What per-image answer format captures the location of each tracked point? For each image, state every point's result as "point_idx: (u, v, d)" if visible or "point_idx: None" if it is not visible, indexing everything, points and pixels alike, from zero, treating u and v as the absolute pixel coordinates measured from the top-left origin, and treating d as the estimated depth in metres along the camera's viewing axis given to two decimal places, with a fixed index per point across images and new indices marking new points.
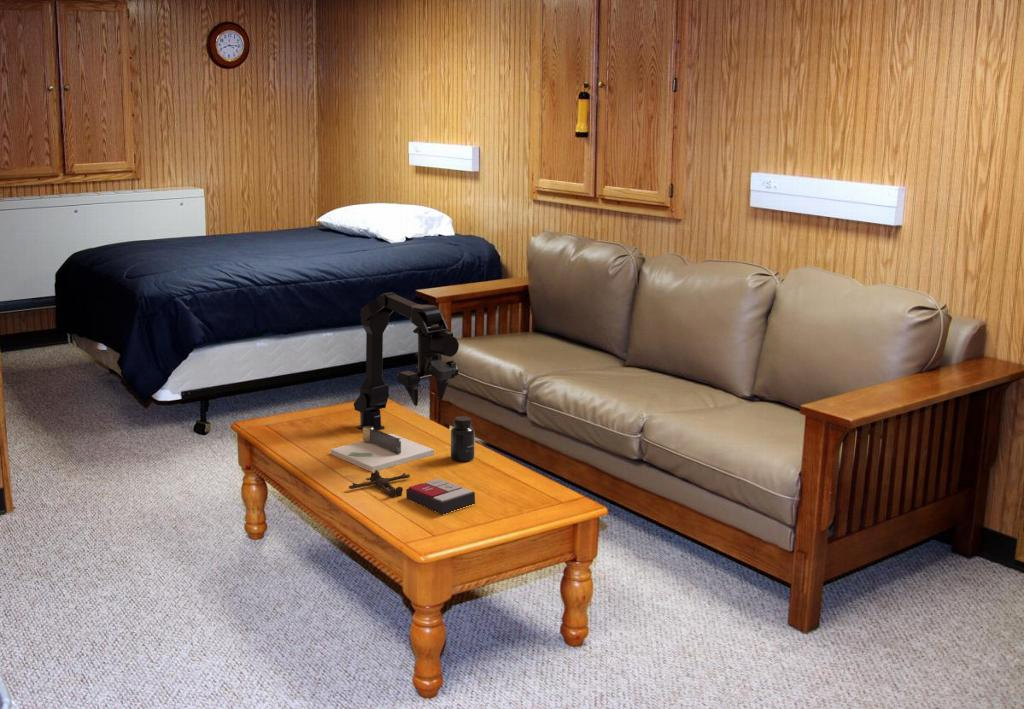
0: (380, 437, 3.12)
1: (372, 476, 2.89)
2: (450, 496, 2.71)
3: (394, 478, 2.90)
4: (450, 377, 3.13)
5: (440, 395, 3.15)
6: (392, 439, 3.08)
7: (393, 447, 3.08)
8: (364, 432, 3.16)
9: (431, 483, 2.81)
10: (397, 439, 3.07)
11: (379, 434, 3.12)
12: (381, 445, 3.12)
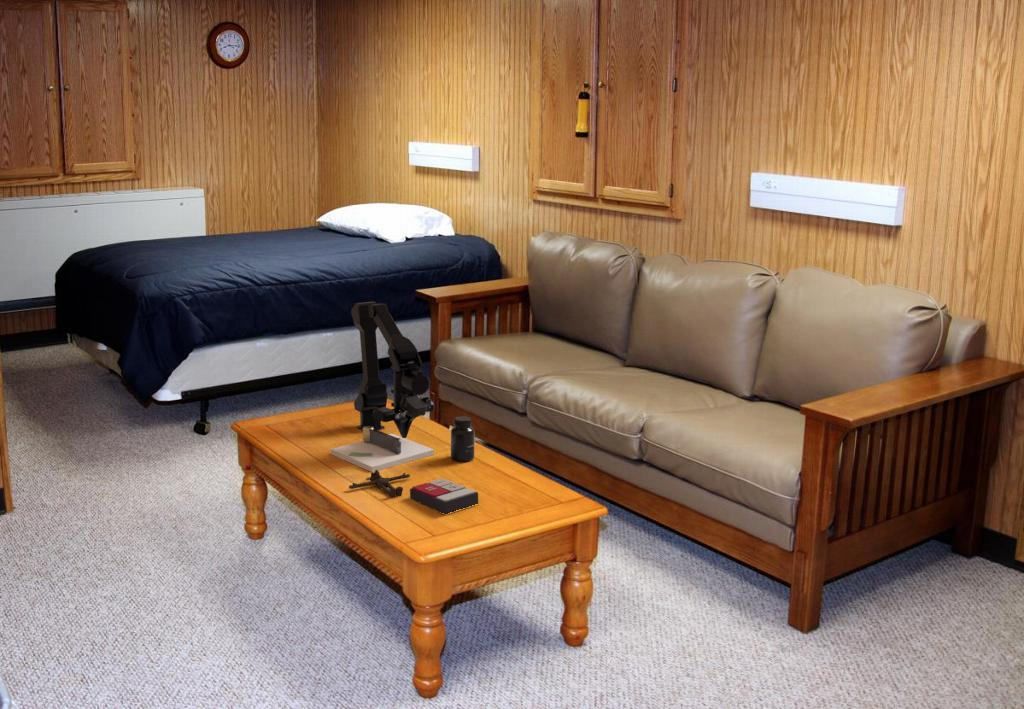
0: (380, 437, 3.12)
1: (372, 476, 2.89)
2: (453, 496, 2.71)
3: (394, 478, 2.90)
4: None
5: None
6: (392, 439, 3.08)
7: (393, 447, 3.08)
8: (364, 432, 3.16)
9: (435, 483, 2.81)
10: (397, 439, 3.07)
11: (379, 434, 3.12)
12: (381, 445, 3.12)
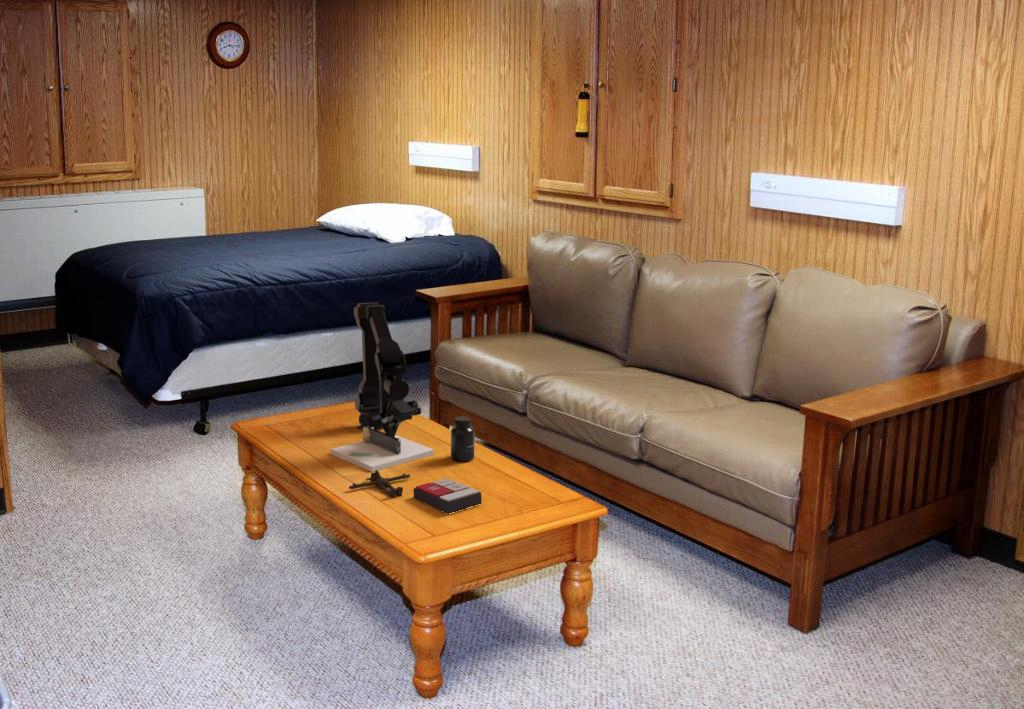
0: (380, 437, 3.12)
1: (372, 476, 2.89)
2: (456, 496, 2.71)
3: (394, 478, 2.90)
4: None
5: None
6: (392, 439, 3.08)
7: (393, 447, 3.08)
8: (364, 432, 3.16)
9: (438, 483, 2.81)
10: (397, 439, 3.07)
11: (379, 434, 3.12)
12: (381, 445, 3.12)
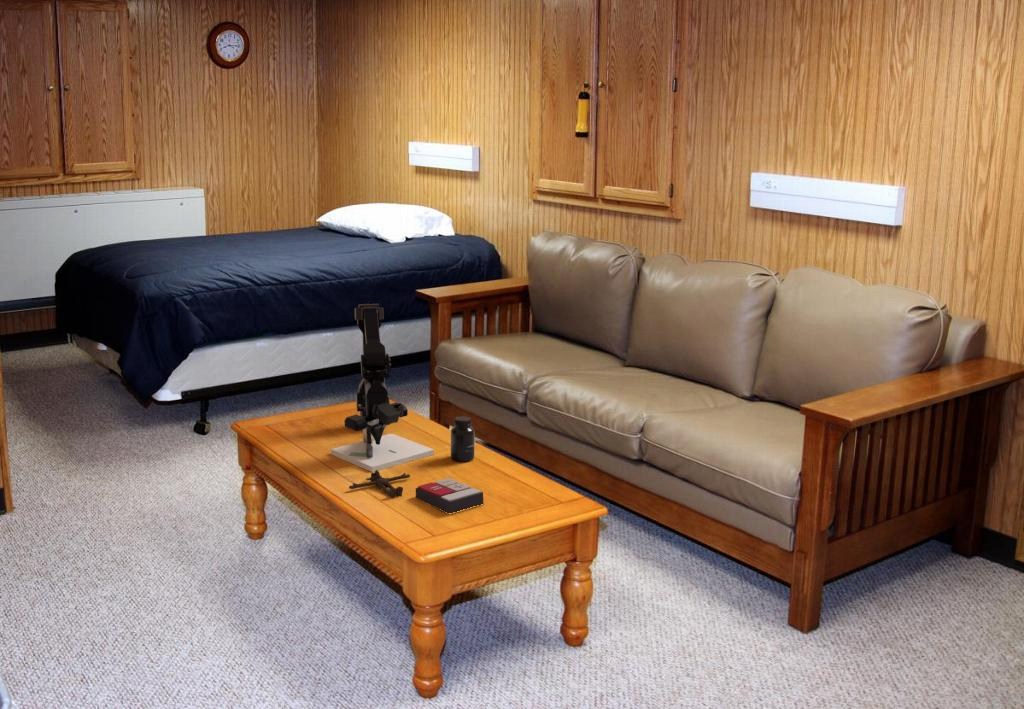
0: None
1: (372, 476, 2.88)
2: (458, 496, 2.72)
3: (394, 478, 2.90)
4: None
5: (377, 440, 3.10)
6: (367, 442, 3.05)
7: None
8: (363, 431, 3.17)
9: (441, 482, 2.81)
10: (368, 443, 3.03)
11: (366, 435, 3.11)
12: None
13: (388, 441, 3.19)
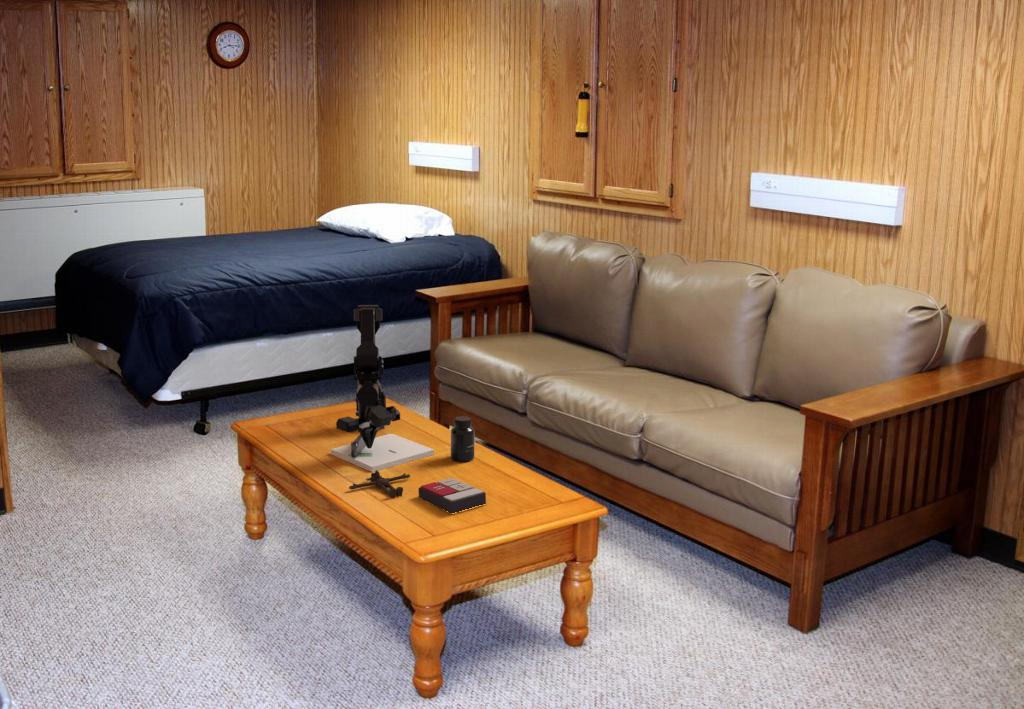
0: None
1: (372, 476, 2.88)
2: (460, 496, 2.72)
3: (394, 478, 2.89)
4: None
5: None
6: None
7: None
8: None
9: (443, 482, 2.82)
10: (353, 442, 3.03)
11: None
12: None
13: (388, 441, 3.19)
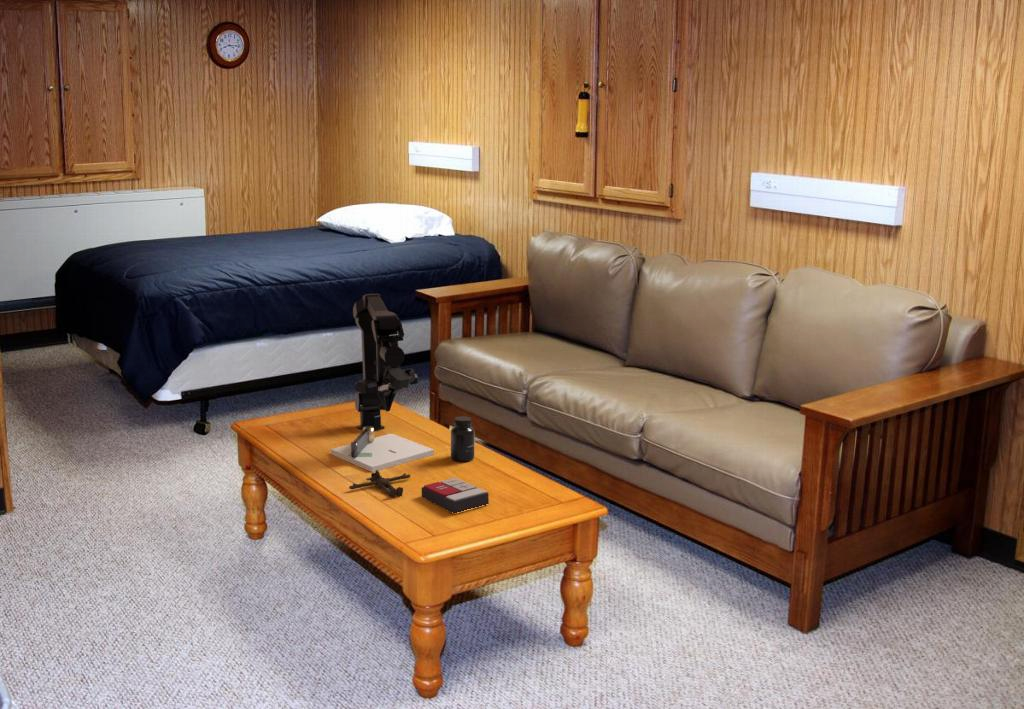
0: None
1: (372, 476, 2.88)
2: (463, 496, 2.72)
3: (394, 478, 2.89)
4: None
5: None
6: None
7: None
8: None
9: (447, 482, 2.82)
10: (353, 442, 3.03)
11: None
12: None
13: (388, 441, 3.19)
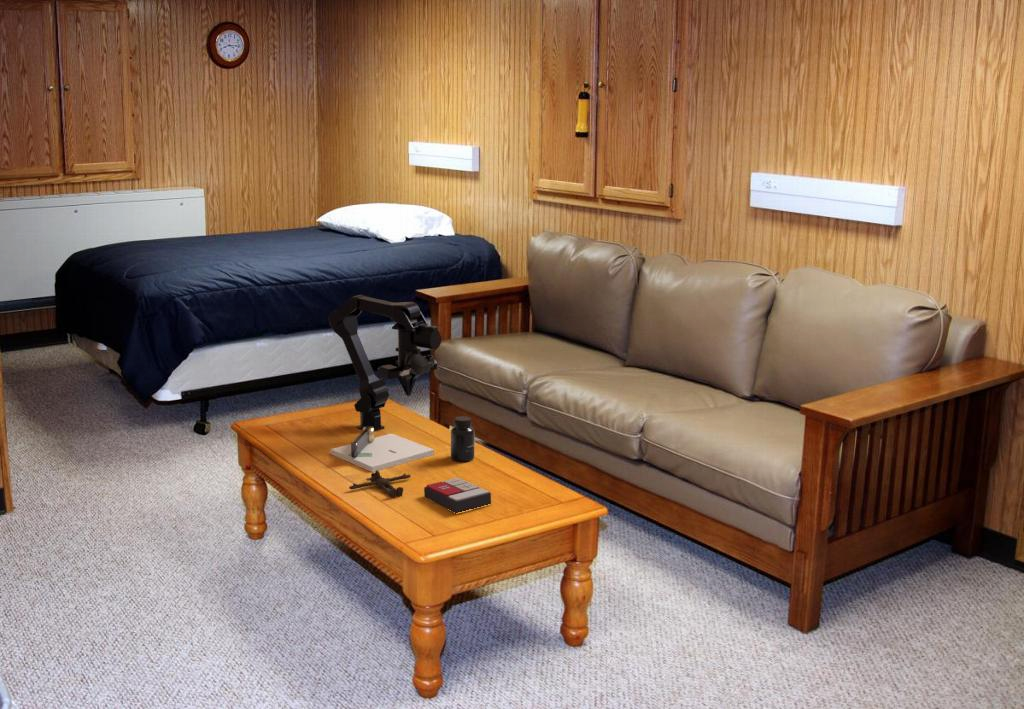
0: None
1: (372, 476, 2.88)
2: (465, 496, 2.72)
3: (394, 478, 2.89)
4: (418, 373, 3.23)
5: None
6: None
7: None
8: None
9: (449, 482, 2.82)
10: (353, 442, 3.03)
11: None
12: None
13: (388, 441, 3.19)
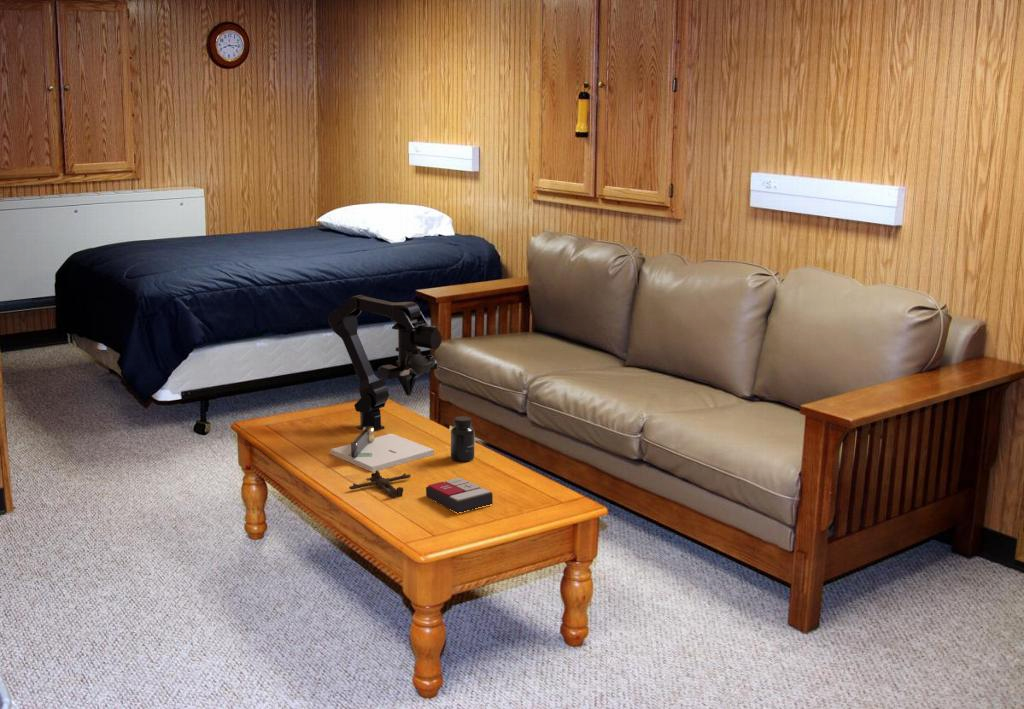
0: None
1: (373, 476, 2.88)
2: (466, 495, 2.72)
3: (395, 478, 2.89)
4: (418, 373, 3.23)
5: None
6: None
7: None
8: None
9: (451, 482, 2.82)
10: (353, 442, 3.03)
11: None
12: None
13: (388, 441, 3.19)
